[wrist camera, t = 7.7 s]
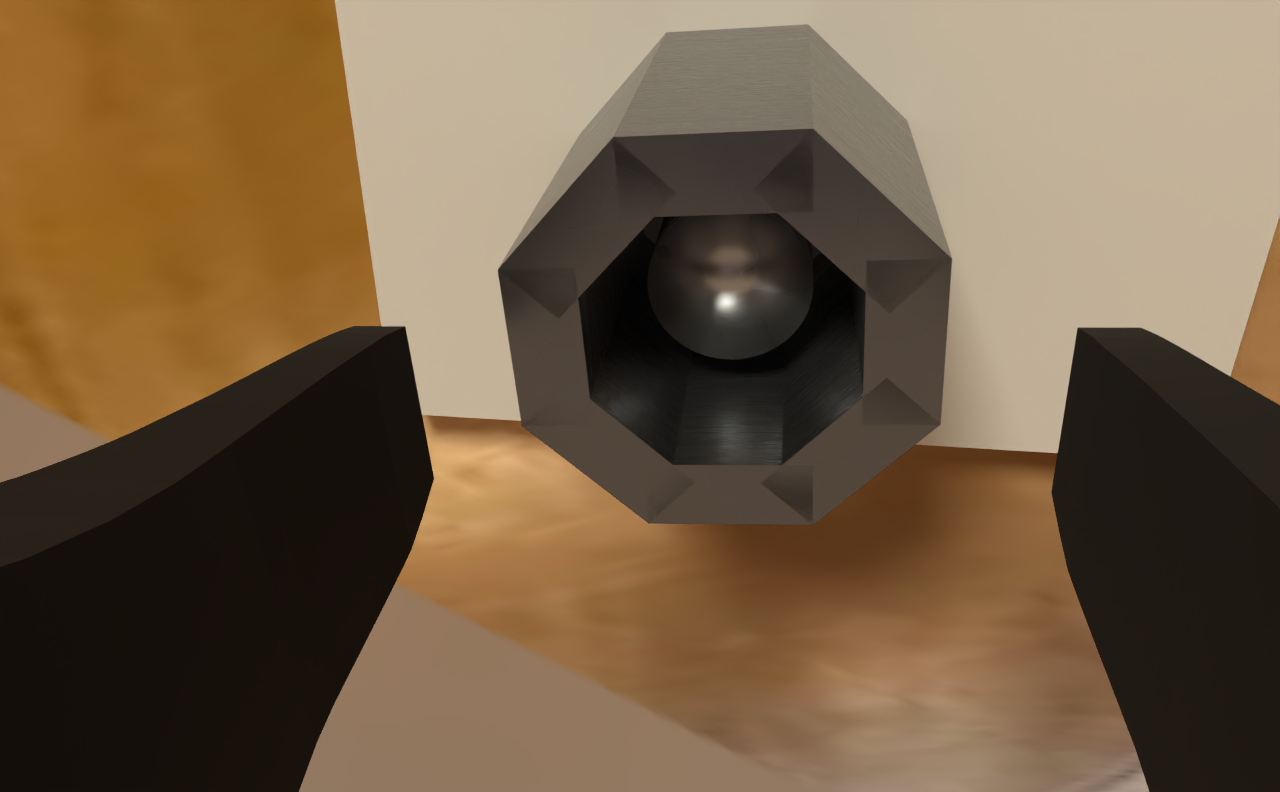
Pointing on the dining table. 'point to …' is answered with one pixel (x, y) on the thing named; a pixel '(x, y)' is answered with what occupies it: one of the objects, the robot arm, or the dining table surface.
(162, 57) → the dining table surface
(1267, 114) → the board
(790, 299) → the cylinder
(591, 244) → the gray faceted cup
